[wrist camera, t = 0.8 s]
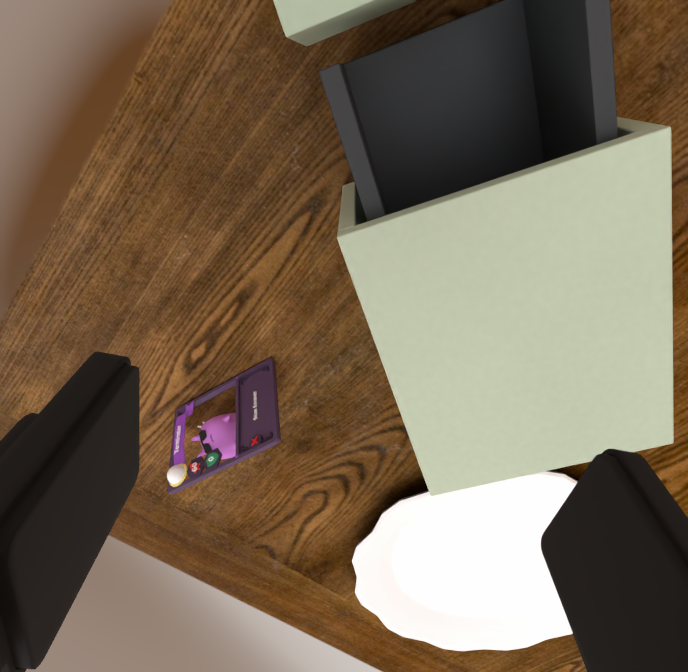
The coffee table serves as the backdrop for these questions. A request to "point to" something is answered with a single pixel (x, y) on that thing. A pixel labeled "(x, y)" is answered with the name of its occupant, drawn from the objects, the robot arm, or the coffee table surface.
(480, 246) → the green drawer box
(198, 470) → the game card
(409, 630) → the plate
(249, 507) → the coffee table surface
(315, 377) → the coffee table surface
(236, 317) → the coffee table surface
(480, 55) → the green drawer
